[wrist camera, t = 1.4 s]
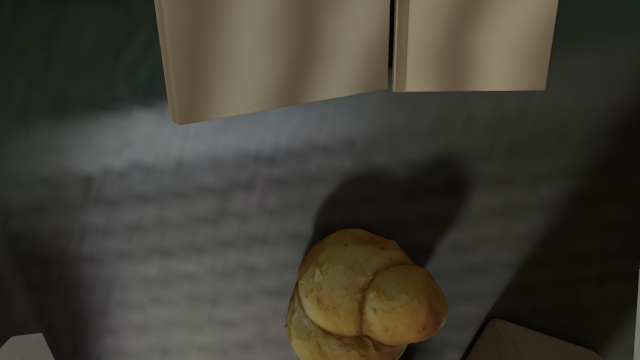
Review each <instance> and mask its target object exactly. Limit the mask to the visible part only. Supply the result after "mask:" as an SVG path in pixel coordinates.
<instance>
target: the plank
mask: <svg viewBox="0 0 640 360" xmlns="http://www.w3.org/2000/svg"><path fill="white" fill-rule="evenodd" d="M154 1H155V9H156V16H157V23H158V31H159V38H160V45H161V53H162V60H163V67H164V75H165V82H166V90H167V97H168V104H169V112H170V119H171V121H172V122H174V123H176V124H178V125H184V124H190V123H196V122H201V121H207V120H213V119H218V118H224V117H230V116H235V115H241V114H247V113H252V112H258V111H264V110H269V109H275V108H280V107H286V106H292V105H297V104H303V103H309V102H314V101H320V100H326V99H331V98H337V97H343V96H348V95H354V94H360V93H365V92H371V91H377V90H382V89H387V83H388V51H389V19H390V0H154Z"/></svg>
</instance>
